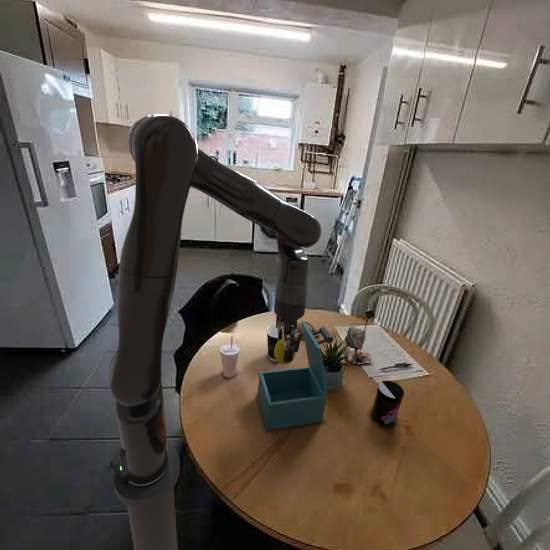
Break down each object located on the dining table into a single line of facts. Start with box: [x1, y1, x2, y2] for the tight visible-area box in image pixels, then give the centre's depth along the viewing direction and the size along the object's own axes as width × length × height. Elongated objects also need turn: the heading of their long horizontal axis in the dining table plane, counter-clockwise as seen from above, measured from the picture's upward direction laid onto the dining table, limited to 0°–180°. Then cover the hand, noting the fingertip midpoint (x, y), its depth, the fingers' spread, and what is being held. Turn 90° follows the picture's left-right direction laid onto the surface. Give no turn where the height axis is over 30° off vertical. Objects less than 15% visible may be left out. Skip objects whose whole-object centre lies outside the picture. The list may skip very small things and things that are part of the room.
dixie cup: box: [265, 324, 289, 362], centre depth 108 cm, size 8×8×11 cm
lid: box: [300, 320, 334, 397], centre depth 84 cm, size 16×13×6 cm
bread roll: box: [297, 321, 320, 341], centre depth 126 cm, size 11×8×4 cm
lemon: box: [274, 339, 296, 366], centre depth 80 cm, size 6×6×8 cm
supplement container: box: [371, 380, 405, 427], centre depth 86 cm, size 7×7×10 cm
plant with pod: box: [341, 308, 376, 365], centre depth 109 cm, size 8×11×20 cm
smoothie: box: [219, 335, 241, 379], centre depth 97 cm, size 6×6×14 cm
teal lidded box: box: [257, 365, 327, 431], centre depth 87 cm, size 16×13×9 cm
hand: (284, 353), depth 80 cm, fingers closed on lemon, 5 cm apart
